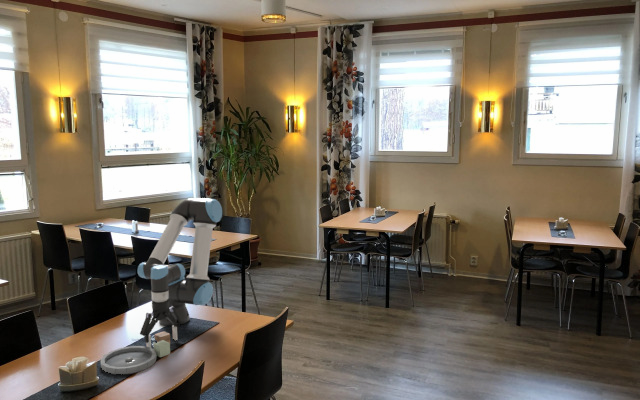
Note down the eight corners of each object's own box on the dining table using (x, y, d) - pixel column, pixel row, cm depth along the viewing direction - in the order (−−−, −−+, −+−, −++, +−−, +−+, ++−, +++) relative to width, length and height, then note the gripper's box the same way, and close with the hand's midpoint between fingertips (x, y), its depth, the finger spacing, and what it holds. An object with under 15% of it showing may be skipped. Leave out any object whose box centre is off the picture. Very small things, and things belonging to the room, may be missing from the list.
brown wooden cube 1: (154, 344, 240) (154, 334, 240) (164, 341, 244) (163, 331, 243) (160, 347, 237) (160, 337, 236) (170, 344, 241) (170, 333, 240)
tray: (91, 363, 220) (91, 357, 220) (139, 347, 237) (138, 341, 237) (117, 379, 206) (117, 373, 206) (166, 361, 223) (166, 355, 222)
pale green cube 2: (154, 354, 230) (153, 343, 229) (164, 350, 234) (163, 340, 233) (160, 357, 227) (159, 346, 226) (170, 353, 230) (169, 343, 230)
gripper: (139, 308, 226) (141, 355, 228) (188, 294, 244) (189, 338, 247) (130, 304, 231) (132, 350, 233) (179, 291, 249) (180, 334, 252)
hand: (162, 344), depth 240 cm, fingers open, 13 cm apart
